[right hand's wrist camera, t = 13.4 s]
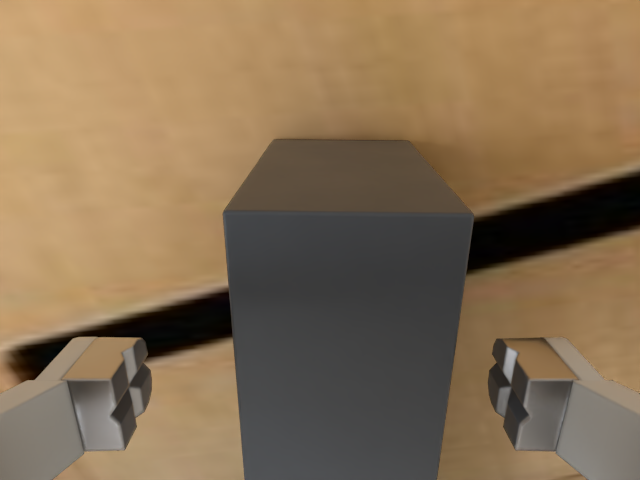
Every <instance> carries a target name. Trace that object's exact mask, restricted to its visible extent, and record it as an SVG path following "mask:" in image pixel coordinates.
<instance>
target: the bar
mask: <svg viewBox="0 0 640 480" xmlns="http://www.w3.org/2000/svg"><path fill="white" fill-rule="evenodd" d="M473 221H474V215H473V213H472V212H471V211H470V210H469V208H468V207H467V206H466V205H465V204H464V203H463V202H462V201H461V199H460V198H459V197H458V196H457V195H456V194H455V193H454V191H453V190H452V189H451V188H450V187H449V186H448V185H447V184H446V182H445V181H444V180H443V179H442V178H441V177H440V176H439V174H438V173H437V172H436V171H435V170H434V169H433V168H432V167H431V165H430V164H429V163H428V162H427V161H426V160H425V159H424V157H423V156H422V155H421V154H420V153H419V152H418V151H417V150H416V148H415V147H414V146H413V145H412V144H411V143H410V142H409V141H398V140H282V139H274V140H273V141H272V142H271V144H270V145H269V146H268V148H267V149H266V151H265V152H264V154H263V155H262V156H261V158H260V159H259V161H258V162H257V164H256V165H255V167H254V168H253V169H252V171H251V172H250V174H249V175H248V177H247V178H246V179H245V181H244V182H243V184H242V185H241V187H240V188H239V190H238V191H237V192H236V194H235V195H234V197H233V198H232V200H231V201H230V203H229V204H228V205H227V207H226V208H225V210H224V212H223V223H224V235H225V247H226V259H227V271H228V284H229V296H230V308H231V320H232V332H233V344H234V356H235V369H236V381H237V393H238V405H239V417H240V429H241V442H242V454H243V466H244V478H245V480H437V474H438V467H439V460H440V453H441V446H442V439H443V432H444V425H445V418H446V411H447V404H448V397H449V390H450V383H451V376H452V369H453V362H454V355H455V348H456V341H457V334H458V327H459V320H460V313H461V305H462V298H463V291H464V284H465V277H466V270H467V263H468V256H469V249H470V242H471V235H472V228H473Z"/></svg>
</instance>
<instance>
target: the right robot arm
mask: <svg viewBox="0 0 640 480" xmlns="http://www.w3.org/2000/svg"><path fill="white" fill-rule="evenodd" d="M147 355H148V352H147V347H146V342H145V341H144V340H143V339H142V338H115V337H99V338H98V337H77V338H74V339H72V340H71V341H70V342H69V343H68V345H67V346H66V347H65V348H64V349H63V350H62V351H61V352H60V353H59V354H58V355H57V357H56V358H55V359H54V360H53V361H52V362H51V363H50V364H49V365H48V366H47V367H46V368H45V370H44V371H43V372H42V373H41V374H40V375H39V376H38V377H37V378H36V379H35V380H27V381H25V382H23V383H21V384H19V385H17V386H15V387H13V388H10V389H8V390H6V391H4V392H2V393H0V480H52V479H54V478H55V477H56V476H57V475H59V474H60V473H61V472H62V471H63V470H65V469H66V468H67V467H68V466H70V465H71V464H72V463H73V462H74V461H76V460H77V459H78V458H79V457H81V456H82V455H83V454H84V451H114V450H125V449H126V447H127V445H128V443H129V441H130V439H131V437H132V435H133V433H134V431H135V429H136V427H137V425H136V419H135V418H136V417H138V416H139V415H140V414H142V413H143V412H145V409H146V407H147V405H148V403H149V400H150V395H151V391H152V377H151V370H150V369H149V368H148V367H147V366H146V365H145V364H144V363H143V362H144V360H145V358H146V356H147ZM492 355H493V357H494V358H495V360H496V362H497V363H496V364H495V365H494V366H493V367H492V368H491V369H490V370H489V378H488V389H489V396H490V400H491V403H492V405H493V407H494V410H495V412H497V413H498V414H499V415H501V416H502V417H504V418H505V419H504V425H503V427H504V429H505V431H506V433H507V435H508V437H509V439H510V441H511V443H512V445H513V447H514V448H515V450H525V451H556V454H557V455H558V456H560V457H561V458H562V459H563V460H565V461H566V462H567V463H568V464H569V465H571V466H572V467H573V468H574V469H575V470H577V471H578V472H579V473H580V474H582V475H583V476H584V477H585V478H586V479H588V480H640V393H638V392H636V391H634V390H632V389H629V388H627V387H625V386H623V385H621V384H619V383H617V382H615V381H613V380H605V379H604V378H603V377H602V376H601V375H600V374H599V373H598V372H597V371H596V370H595V368H594V367H593V366H592V365H591V364H590V363H589V362H588V361H587V360H586V359H585V358H584V356H583V355H582V354H581V353H580V352H579V351H578V350H577V349H576V348H575V347H574V346H573V345H572V343H571V342H570V341H569V340H568V339H566V338H564V337H541V338H508V339H496V341H495V343H494V346H493V352H492Z"/></svg>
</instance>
